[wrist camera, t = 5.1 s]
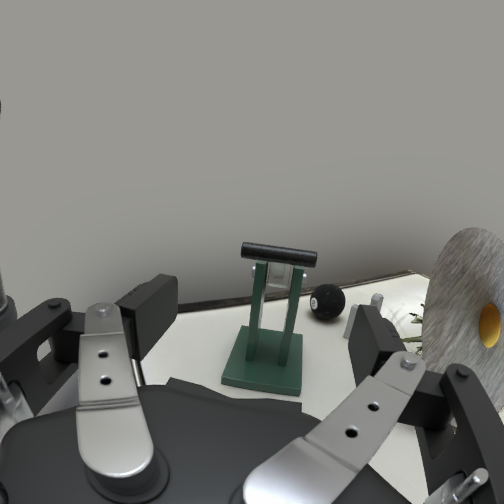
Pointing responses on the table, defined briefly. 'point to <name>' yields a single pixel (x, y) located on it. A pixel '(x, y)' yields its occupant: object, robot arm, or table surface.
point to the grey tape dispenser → (375, 301)
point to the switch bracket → (268, 344)
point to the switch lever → (279, 260)
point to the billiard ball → (327, 301)
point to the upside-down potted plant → (467, 310)
